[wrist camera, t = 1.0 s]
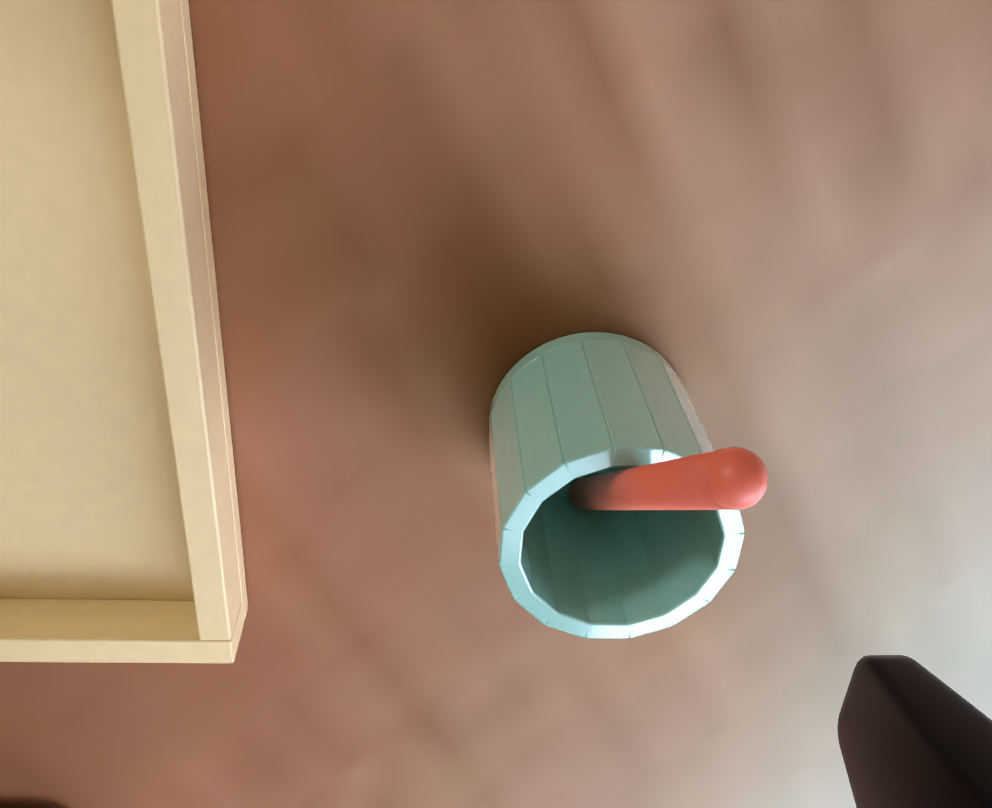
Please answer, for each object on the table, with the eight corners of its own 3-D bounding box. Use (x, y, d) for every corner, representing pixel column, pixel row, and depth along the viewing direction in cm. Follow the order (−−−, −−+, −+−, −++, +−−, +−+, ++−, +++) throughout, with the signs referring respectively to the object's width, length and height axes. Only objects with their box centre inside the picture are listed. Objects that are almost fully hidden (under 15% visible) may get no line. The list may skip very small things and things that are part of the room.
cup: (668, 501, 24) (718, 640, 20) (483, 498, 24) (492, 639, 19) (701, 334, 21) (767, 451, 17) (495, 326, 21) (508, 444, 17)
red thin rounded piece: (596, 498, 23) (686, 846, 15) (565, 497, 23) (637, 846, 15) (635, 221, 20) (782, 470, 11) (599, 220, 20) (718, 468, 11)
